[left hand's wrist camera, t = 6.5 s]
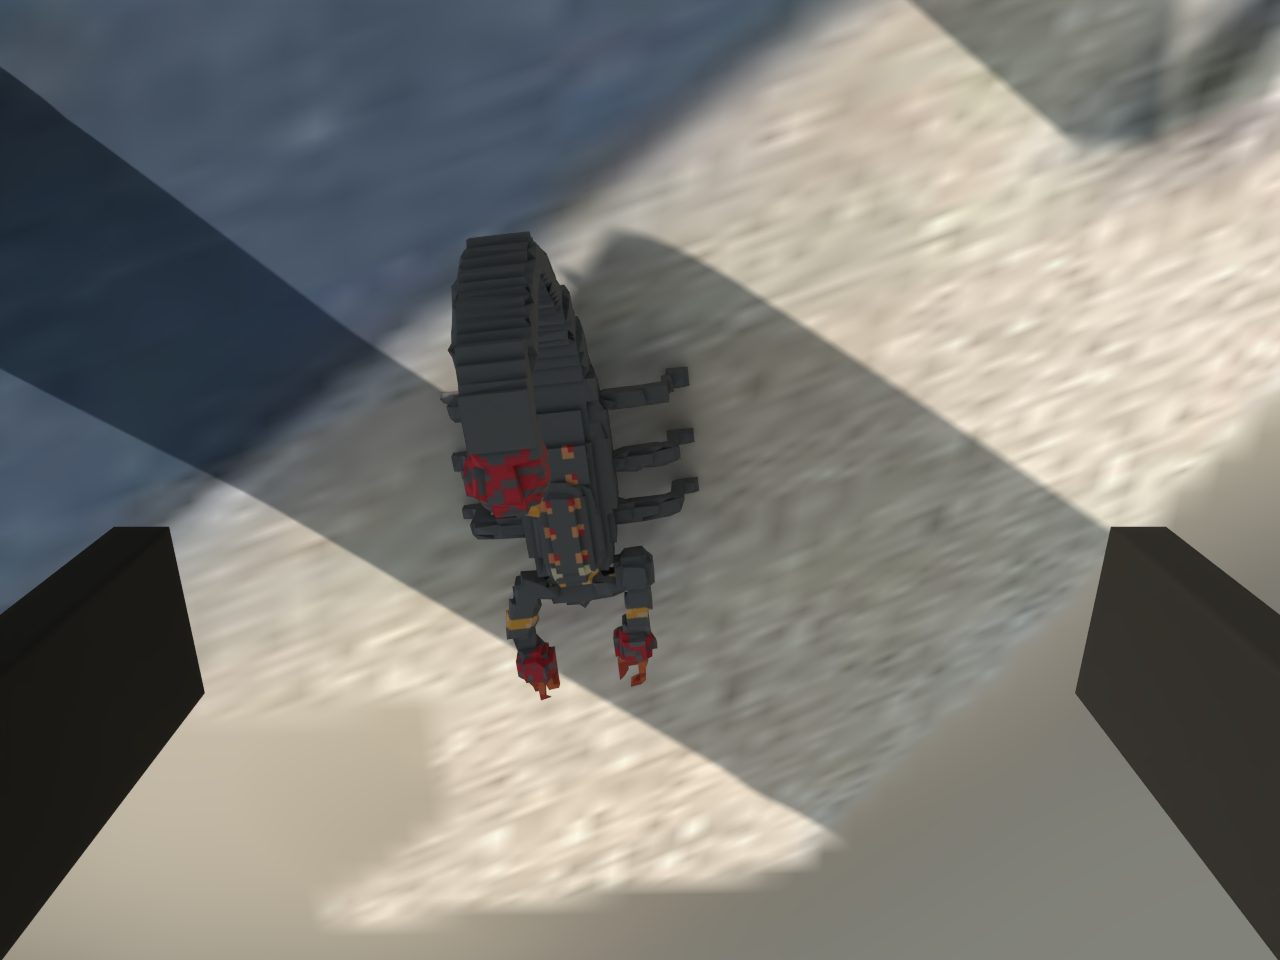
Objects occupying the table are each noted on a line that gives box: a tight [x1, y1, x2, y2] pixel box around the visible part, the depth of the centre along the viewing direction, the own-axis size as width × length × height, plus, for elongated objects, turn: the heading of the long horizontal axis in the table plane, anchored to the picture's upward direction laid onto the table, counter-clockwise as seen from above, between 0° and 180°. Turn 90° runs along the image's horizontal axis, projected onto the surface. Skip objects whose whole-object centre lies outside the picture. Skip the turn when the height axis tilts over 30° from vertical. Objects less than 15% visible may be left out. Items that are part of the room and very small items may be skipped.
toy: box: [440, 232, 699, 700], centre depth 41 cm, size 13×27×18 cm, turn 6°
